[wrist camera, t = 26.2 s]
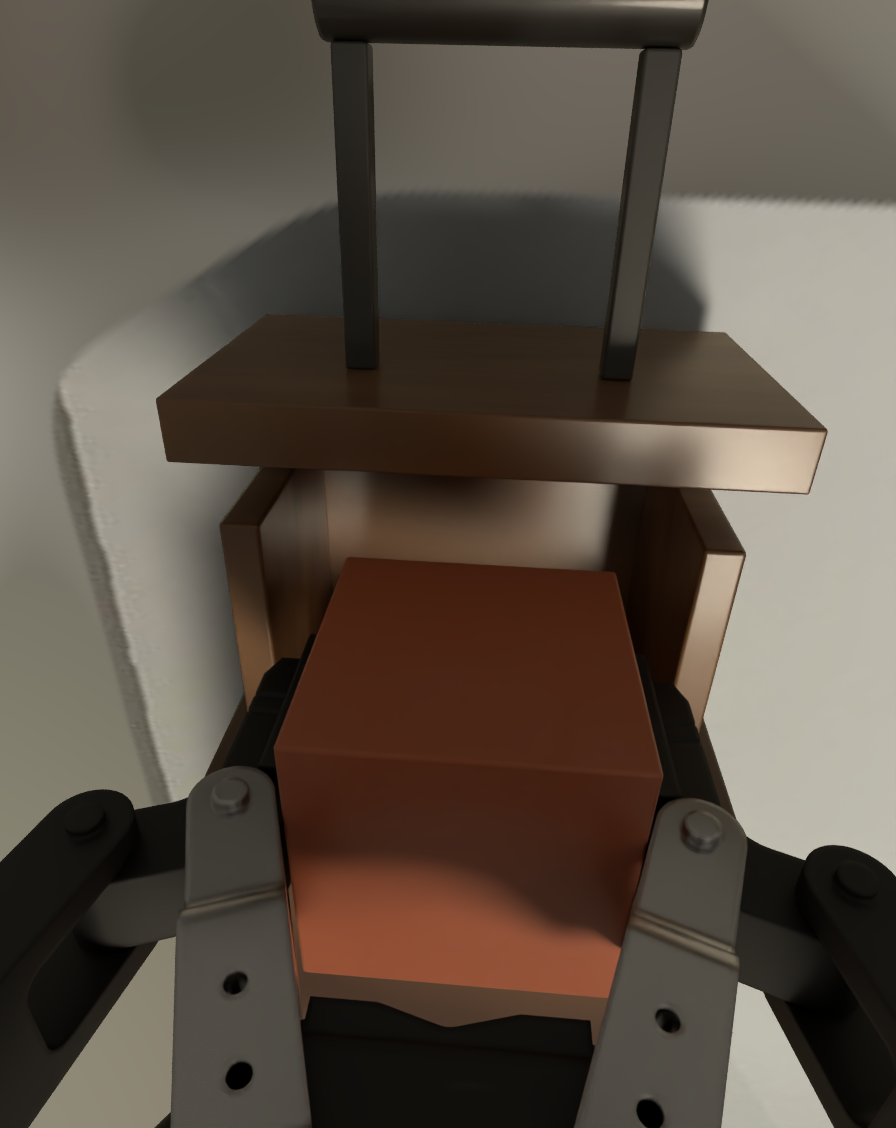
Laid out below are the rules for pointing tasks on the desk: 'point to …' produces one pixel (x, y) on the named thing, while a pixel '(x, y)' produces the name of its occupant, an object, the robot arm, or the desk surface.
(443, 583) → the block
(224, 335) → the desk surface
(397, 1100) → the robot arm
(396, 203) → the desk surface
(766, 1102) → the desk surface
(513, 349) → the drawer
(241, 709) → the cabinet
